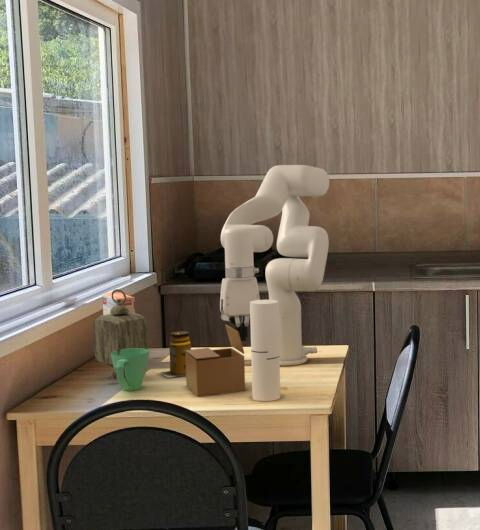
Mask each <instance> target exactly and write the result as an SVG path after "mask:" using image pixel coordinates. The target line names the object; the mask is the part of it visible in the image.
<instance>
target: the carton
mask: <svg viewBox="0 0 480 530" xmlns="http://www.w3.org/2000/svg"><path fill="white" fill-rule="evenodd" d="M186 352H187V353H185V356H186V376H185V379H186V380H185V383H186V384H185V385H186V388H187V389H188V390H189V391H191V392H192V393H193V394H194V395H195V396H196V397H205V396H213V395H221V394H231V393H237V392H238V393H239V392H245V391H246V373H245V372H246V371H245V355H244V354H243V353H241V352H240V351H238V350H236V349H235V348H233V347H229V348H228V347H227V348H218V349H211V348H210V347H203V348H193V349H192V348H191V350H186Z"/></svg>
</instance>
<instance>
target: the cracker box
mask: <svg viewBox="0 0 480 530" xmlns="http://www.w3.org/2000/svg"><path fill="white" fill-rule="evenodd" d="M125 295H126V301H125V303H124V304H121V305H124V306H126V307H127V309H128V310H129V312H133V313H136V305H135V303H136V302H135V301H136V300H135V297H134V296H131V295H128V294H126V293H125ZM113 298H114V299H115V300H116V301H117V299H120V300H121V302H123V301H124V295H123V294H122V293H121V292H115V293H114V294H113ZM116 305H117V304H116V303H115V302H114V301H113V300H112V292H108V293H107V292H106V293H103V294H102V313H103V314H102V315H108V314H111V313H110V310H111V308H112V307H113V306H116Z"/></svg>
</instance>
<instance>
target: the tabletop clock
mask: <svg viewBox="0 0 480 530" xmlns="http://www.w3.org/2000/svg"><path fill="white" fill-rule="evenodd" d="M111 293H112V300H113V301H114V302H115V303H116V304H117V305H116V306H113V307H112V308H111V310H110V313H111V314H108V315H103V314H101V315H100V316H98V317H96V318H95V319H94V320H93V325H92V342H93V352H94V357H95V359H96V361H98V362H100V363H102V364H105V365H108V366H111V367H114V366H113V362H112V358H111V353H112V352H113V351H117V354H118V355H119V352H120V350H121V349H129V348H142V349H147V350H149V335H148V334H149V333H148V326H147V320H146V318H145V317H144V316H143V315H142V314H139V313H136V312H135V313H133V312H129V310H128V309H127V307H126V306H124V305H121V304H124V303H125V301H126V295H127V294H126V293H125V291H123V290H122V289H120V288H117V289H113V290H112V292H111ZM114 293H122V294H123V295H124V301H123V302H121V300H120V299H117V301H116V300H115V299H114V298H113V294H114ZM125 294H126V295H125ZM111 376H112V377H113V378H116V373H115V371H113V372H112V374H111ZM116 379H117V378H116Z"/></svg>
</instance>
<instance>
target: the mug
mask: <svg viewBox="0 0 480 530" xmlns="http://www.w3.org/2000/svg"><path fill="white" fill-rule="evenodd" d="M149 357H150V350H149V349H148V350H147V349H142V348H129V349H121V350H120V352H119V355H118V354H117V351H113V352H112V353H111V358H112V362H113V366H112V367H113V370H114V372H115V373H116V379H117V380H116V381H117V383H118V385H119V387H120V388H121V389H122V391H127V392H128V391H129V392H130V391H131V392H132V391H137V390H140V389H141V388H142V385H143V383H144V380H145V376H146V374H147V370H148V365H149V359H150V358H149Z"/></svg>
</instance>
